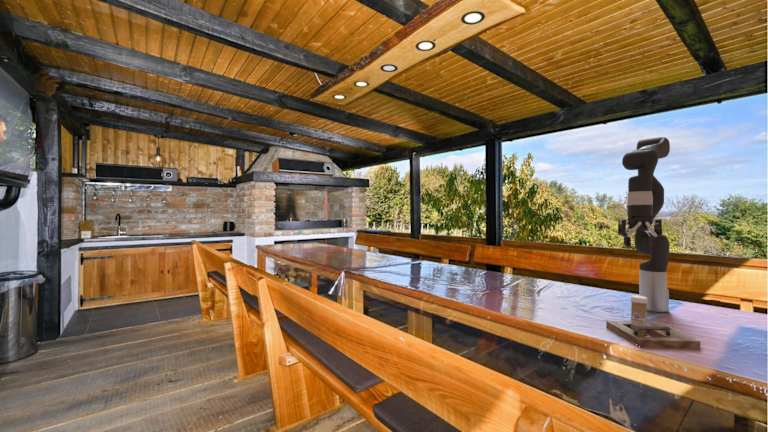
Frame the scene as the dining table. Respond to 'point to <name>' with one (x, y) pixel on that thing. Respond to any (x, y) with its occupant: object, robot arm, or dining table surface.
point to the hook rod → (666, 328)
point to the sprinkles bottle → (639, 312)
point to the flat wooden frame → (654, 336)
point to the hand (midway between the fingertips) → (639, 246)
